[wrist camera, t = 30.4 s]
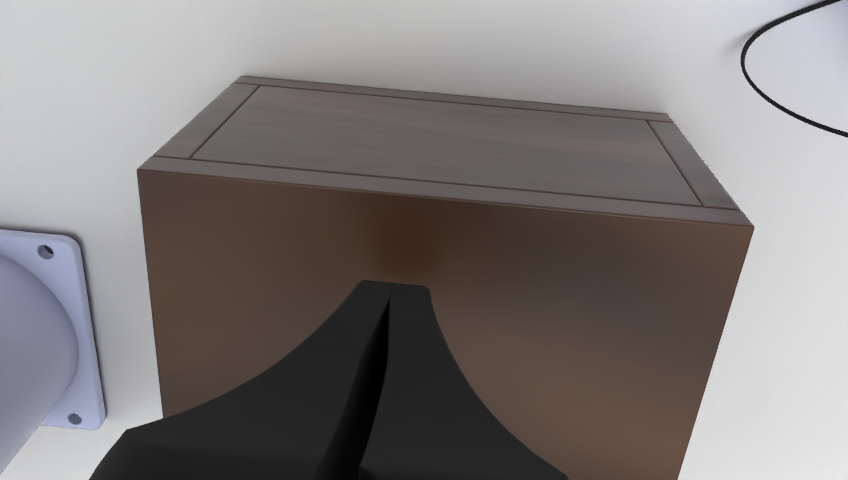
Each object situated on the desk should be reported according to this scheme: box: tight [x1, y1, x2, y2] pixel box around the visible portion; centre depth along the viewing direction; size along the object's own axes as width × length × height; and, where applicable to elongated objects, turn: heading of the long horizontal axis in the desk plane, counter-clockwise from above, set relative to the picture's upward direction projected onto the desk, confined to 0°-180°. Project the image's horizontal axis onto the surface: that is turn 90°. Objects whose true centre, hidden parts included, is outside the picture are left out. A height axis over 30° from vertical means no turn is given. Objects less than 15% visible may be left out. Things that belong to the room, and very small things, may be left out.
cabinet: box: [137, 76, 754, 480], centre depth 22 cm, size 14×13×8 cm
